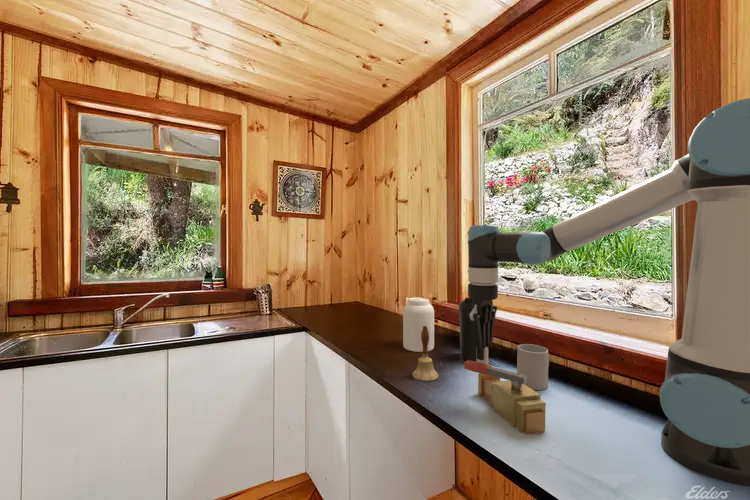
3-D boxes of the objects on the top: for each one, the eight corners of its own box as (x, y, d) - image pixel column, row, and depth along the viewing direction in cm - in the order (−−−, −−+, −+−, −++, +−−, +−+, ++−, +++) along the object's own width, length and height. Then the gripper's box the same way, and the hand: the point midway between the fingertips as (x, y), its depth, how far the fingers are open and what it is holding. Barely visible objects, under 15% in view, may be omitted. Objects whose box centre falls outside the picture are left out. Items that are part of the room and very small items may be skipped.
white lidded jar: (426, 354, 125) (426, 302, 124) (397, 349, 131) (397, 299, 131) (438, 346, 135) (439, 297, 135) (411, 341, 142) (411, 295, 141)
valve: (549, 431, 75) (549, 400, 74) (522, 435, 73) (522, 404, 73) (498, 391, 94) (498, 367, 94) (476, 394, 93) (476, 369, 93)
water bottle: (490, 358, 121) (490, 296, 121) (483, 366, 113) (483, 300, 112) (463, 353, 127) (463, 293, 126) (454, 361, 118) (454, 297, 118)
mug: (536, 393, 93) (537, 354, 93) (510, 382, 101) (511, 346, 100) (560, 383, 100) (561, 347, 99) (534, 373, 107) (535, 340, 107)
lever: (526, 389, 80) (526, 374, 80) (523, 392, 78) (523, 377, 78) (468, 373, 90) (468, 359, 90) (464, 375, 88) (464, 362, 88)
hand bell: (407, 375, 106) (407, 326, 105) (423, 368, 111) (424, 322, 111) (427, 383, 100) (427, 331, 99) (443, 376, 105) (444, 326, 105)
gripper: (480, 279, 94) (480, 360, 95) (457, 284, 85) (457, 373, 86) (506, 281, 89) (506, 367, 90) (485, 287, 80) (484, 382, 81)
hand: (482, 370), depth 88 cm, fingers closed
